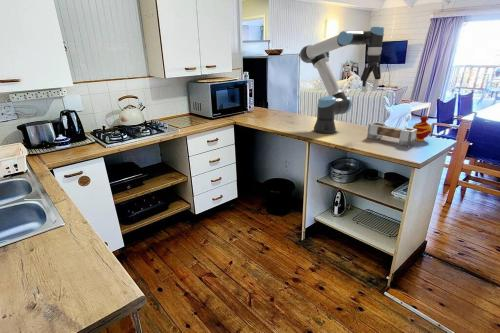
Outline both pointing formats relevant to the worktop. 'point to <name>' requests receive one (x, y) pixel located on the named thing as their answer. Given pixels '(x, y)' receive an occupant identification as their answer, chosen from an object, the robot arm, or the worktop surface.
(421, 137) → the potion bottle
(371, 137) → the bracket
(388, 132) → the rail
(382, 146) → the worktop surface
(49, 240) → the worktop surface
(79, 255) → the worktop surface
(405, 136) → the bracket
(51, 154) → the worktop surface
